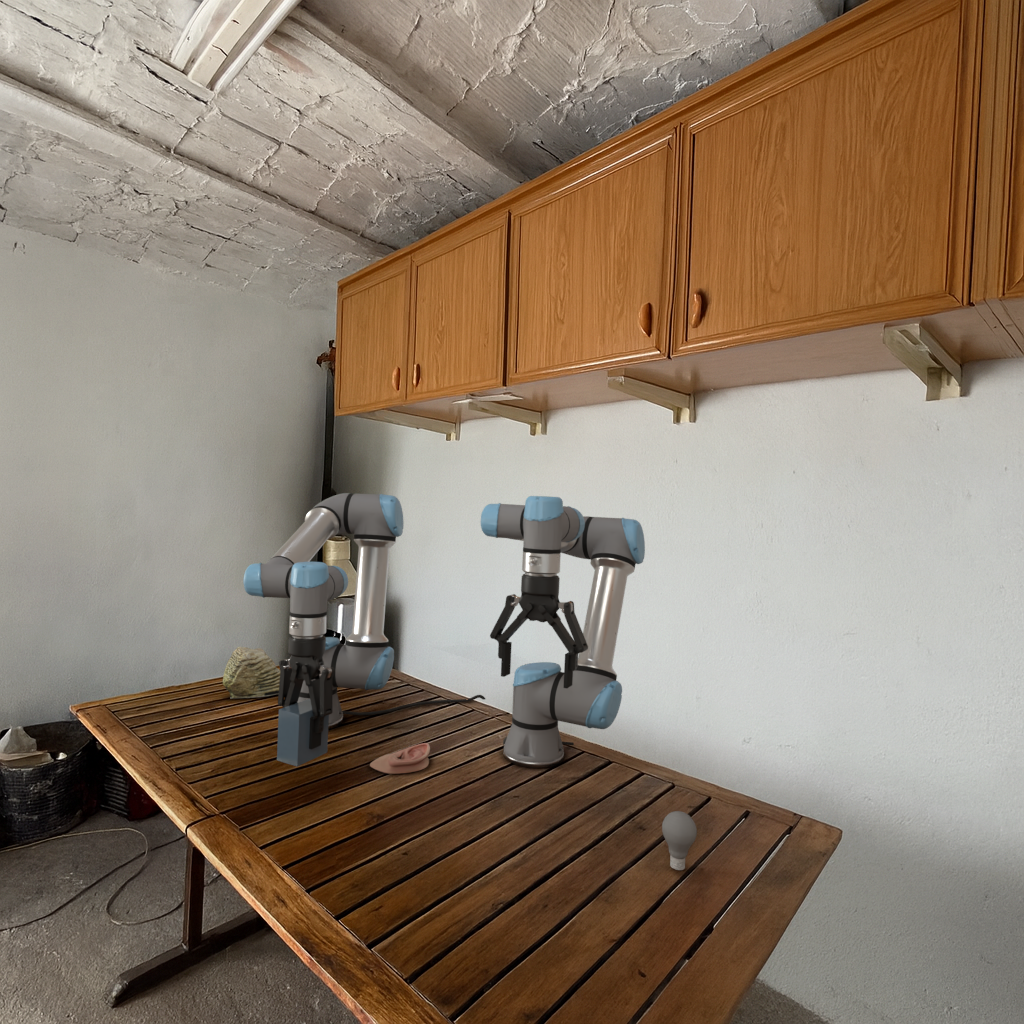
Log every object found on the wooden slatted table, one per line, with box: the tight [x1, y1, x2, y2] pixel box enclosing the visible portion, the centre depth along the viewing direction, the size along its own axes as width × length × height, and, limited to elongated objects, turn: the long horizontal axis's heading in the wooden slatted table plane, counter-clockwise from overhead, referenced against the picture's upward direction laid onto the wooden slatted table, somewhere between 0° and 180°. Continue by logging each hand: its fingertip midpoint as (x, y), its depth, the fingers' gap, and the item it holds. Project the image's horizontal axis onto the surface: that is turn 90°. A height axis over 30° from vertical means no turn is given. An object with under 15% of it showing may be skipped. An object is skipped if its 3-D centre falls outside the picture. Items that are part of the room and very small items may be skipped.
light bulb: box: [661, 810, 698, 871], centre depth 113 cm, size 6×6×10 cm
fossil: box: [222, 646, 280, 699], centre depth 198 cm, size 9×18×15 cm, turn 132°
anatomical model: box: [369, 742, 431, 775], centre depth 151 cm, size 13×4×12 cm
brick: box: [276, 699, 329, 767], centre depth 134 cm, size 9×6×11 cm, turn 153°
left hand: (303, 743), depth 135 cm, fingers closed on brick, 6 cm apart
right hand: (535, 680), depth 126 cm, fingers open, 13 cm apart
